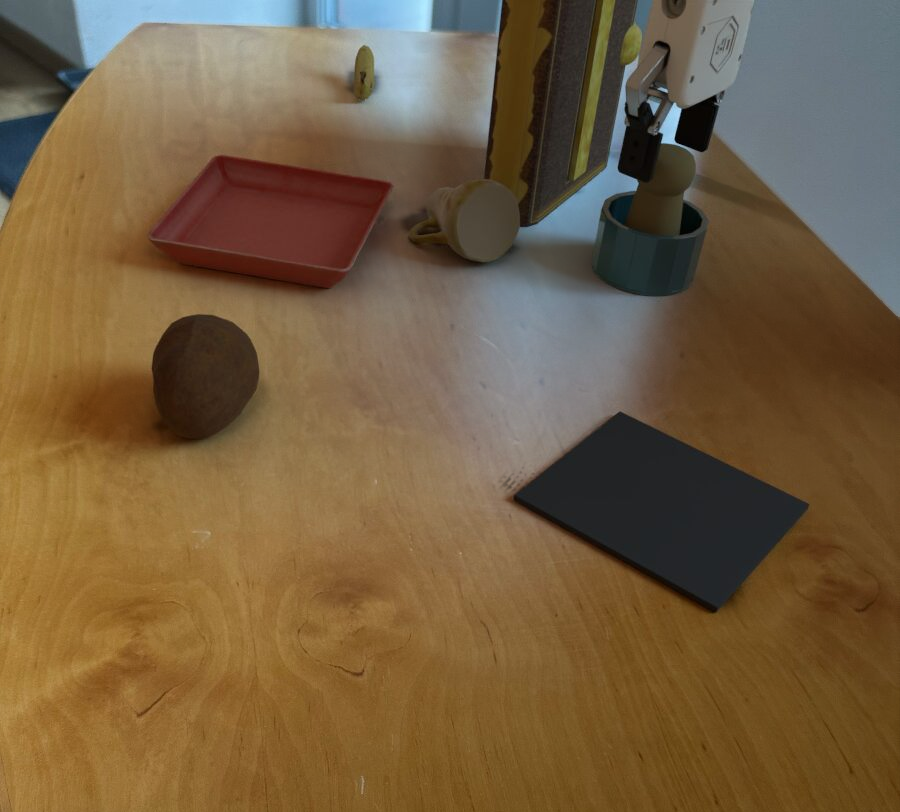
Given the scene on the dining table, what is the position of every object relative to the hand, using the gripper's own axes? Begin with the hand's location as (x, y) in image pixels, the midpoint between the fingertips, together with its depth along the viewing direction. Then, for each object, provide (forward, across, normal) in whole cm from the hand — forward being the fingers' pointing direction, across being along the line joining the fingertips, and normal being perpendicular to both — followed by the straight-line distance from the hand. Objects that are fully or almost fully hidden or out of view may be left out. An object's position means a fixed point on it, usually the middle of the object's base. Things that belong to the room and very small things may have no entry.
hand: (663, 161), depth 89 cm
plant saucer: (+11, -21, +26) cm, 35 cm away
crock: (+10, 0, 0) cm, 10 cm away
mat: (+10, -29, -20) cm, 36 cm away
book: (+10, +9, +16) cm, 22 cm away
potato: (+11, -44, +10) cm, 46 cm away
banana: (+11, +13, +46) cm, 50 cm away
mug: (+11, -9, +14) cm, 20 cm away
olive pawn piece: (+10, 0, 0) cm, 10 cm away
